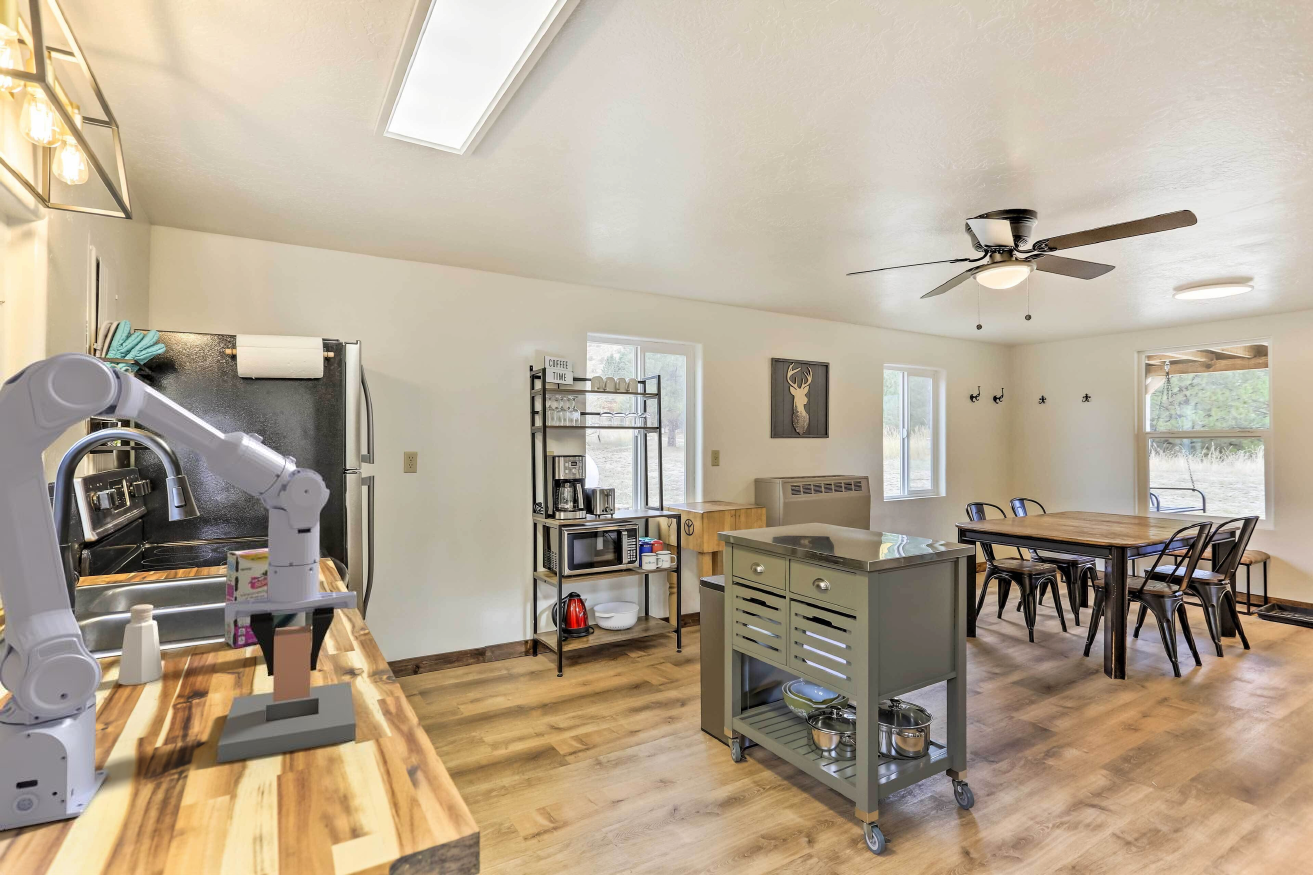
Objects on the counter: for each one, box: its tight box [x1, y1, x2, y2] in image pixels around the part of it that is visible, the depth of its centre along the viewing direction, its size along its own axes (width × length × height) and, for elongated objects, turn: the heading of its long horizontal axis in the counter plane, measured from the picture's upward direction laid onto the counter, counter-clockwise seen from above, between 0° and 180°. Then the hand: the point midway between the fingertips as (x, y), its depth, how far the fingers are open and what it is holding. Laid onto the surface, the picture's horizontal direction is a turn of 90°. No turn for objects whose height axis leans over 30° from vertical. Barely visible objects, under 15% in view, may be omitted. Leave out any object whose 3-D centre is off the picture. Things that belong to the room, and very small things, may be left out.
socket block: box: [217, 681, 357, 764], centre depth 86 cm, size 16×14×2 cm
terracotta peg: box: [272, 624, 312, 702], centre depth 86 cm, size 4×4×8 cm
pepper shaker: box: [117, 603, 164, 686], centre depth 102 cm, size 5×5×11 cm
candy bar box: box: [224, 547, 268, 649], centre depth 123 cm, size 11×5×16 cm, turn 141°
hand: (292, 670), depth 86 cm, fingers closed on terracotta peg, 4 cm apart
